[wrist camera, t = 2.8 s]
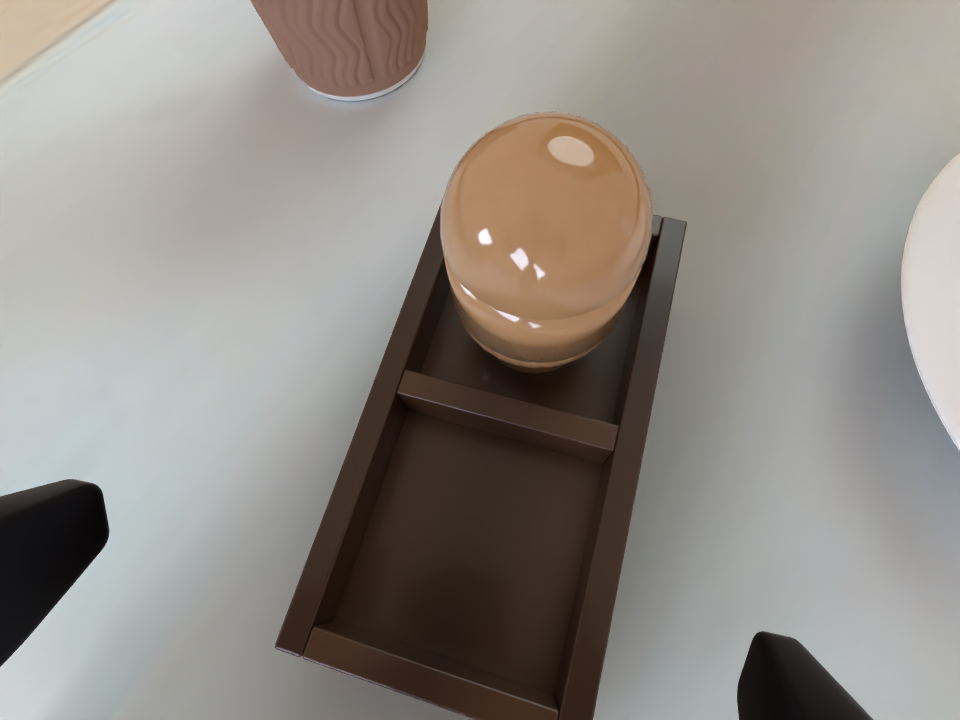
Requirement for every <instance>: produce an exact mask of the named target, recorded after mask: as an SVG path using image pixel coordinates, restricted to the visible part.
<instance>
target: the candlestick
mask: <svg viewBox="0 0 960 720" xmlns="http://www.w3.org/2000/svg"><path fill="white" fill-rule="evenodd" d="M901 299H902V310H903V316H904V323H905V328H906V332H907V337H908V341H909V344H910V348H911V352H912V355H913V358H914V361H915V364H916V367H917V370H918V372H919V375H920V377H921V380H922V382H923V385H924V387H925V390H926V392H927V394H928V396H929V398H930V400H931V403H932V405H933V407H934V408H935V410H936V412H937V414H938V416H939V418H940V420H941V422H942V423H943V425H944V427H945V428H946V430H947V432H948V434H949V435H950V437H951V439H952V440H953V442H954V443H955V445H956V446H957V448H958V449H959V451H960V153H958V154H957V155H956V156H955V157H954V158H953V159H952V160H951V161H950V162H949V163H948V164H947V165H946V166H945V167H944V168H943V169H942V170H941V171H940V173H939V174H938V175H937V176H936V178H935V179H934V180H933V182H932V183H931V185H930V186H929V188H928V189H927V190H926V192H925V194H924V195H923V197H922V199H921V201H920V202H919V204H918V207H917V209H916V211H915V213H914V215H913V218H912V221H911V223H910V226H909V229H908V233H907V236H906V240H905V245H904V250H903V257H902V265H901Z"/></svg>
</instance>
